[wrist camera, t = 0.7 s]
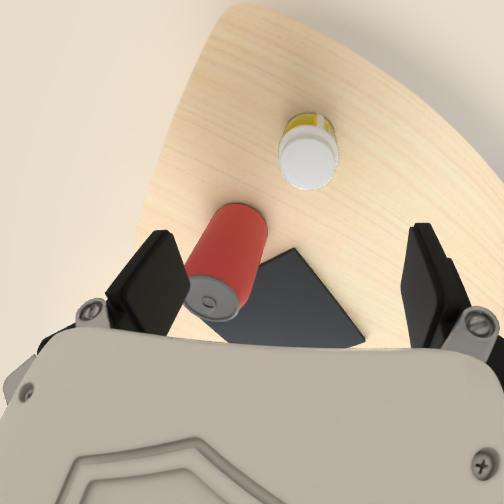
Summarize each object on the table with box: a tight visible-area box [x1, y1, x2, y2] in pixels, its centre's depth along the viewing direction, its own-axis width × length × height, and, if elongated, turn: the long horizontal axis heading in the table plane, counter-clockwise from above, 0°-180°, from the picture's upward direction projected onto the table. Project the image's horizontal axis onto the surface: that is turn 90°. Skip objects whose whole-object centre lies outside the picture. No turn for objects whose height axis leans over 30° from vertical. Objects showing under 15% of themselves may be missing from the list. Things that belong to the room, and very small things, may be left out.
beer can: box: [183, 204, 267, 322], centre depth 30 cm, size 7×7×12 cm
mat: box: [200, 248, 366, 348], centre depth 44 cm, size 20×20×1 cm
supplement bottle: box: [278, 112, 339, 190], centre depth 23 cm, size 5×5×8 cm
